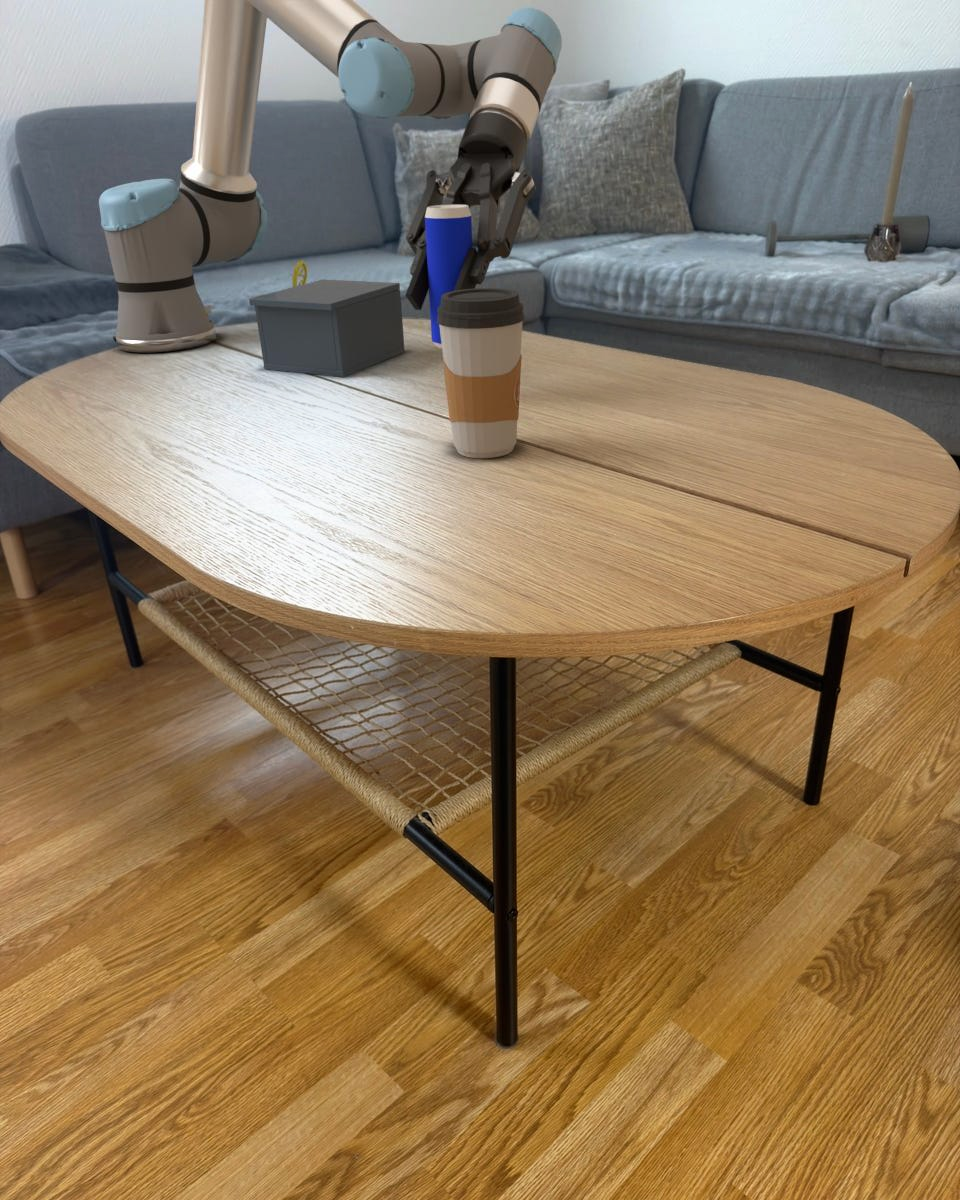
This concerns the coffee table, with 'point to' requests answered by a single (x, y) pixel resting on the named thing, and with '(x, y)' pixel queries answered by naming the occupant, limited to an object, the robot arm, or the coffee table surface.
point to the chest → (331, 336)
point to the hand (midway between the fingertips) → (435, 303)
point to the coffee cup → (482, 368)
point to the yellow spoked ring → (299, 273)
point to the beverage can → (445, 253)
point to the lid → (325, 294)
